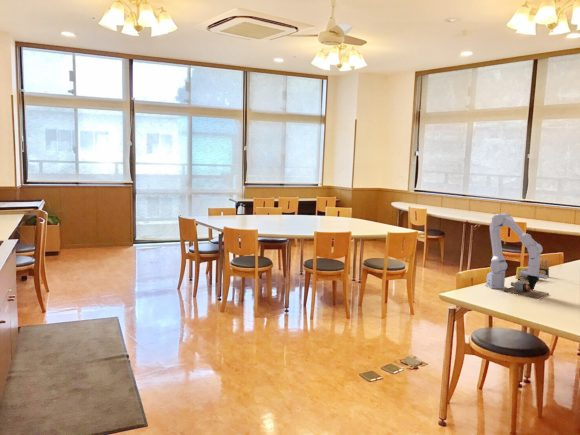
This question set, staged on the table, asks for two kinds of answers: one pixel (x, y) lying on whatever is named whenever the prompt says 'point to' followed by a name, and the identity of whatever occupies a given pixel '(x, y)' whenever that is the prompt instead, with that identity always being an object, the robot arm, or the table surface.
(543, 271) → the ammunition clip
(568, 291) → the table surface
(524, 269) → the candy box
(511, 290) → the base plate
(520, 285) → the bearing housing
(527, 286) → the shaft
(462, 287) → the table surface
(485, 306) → the table surface
